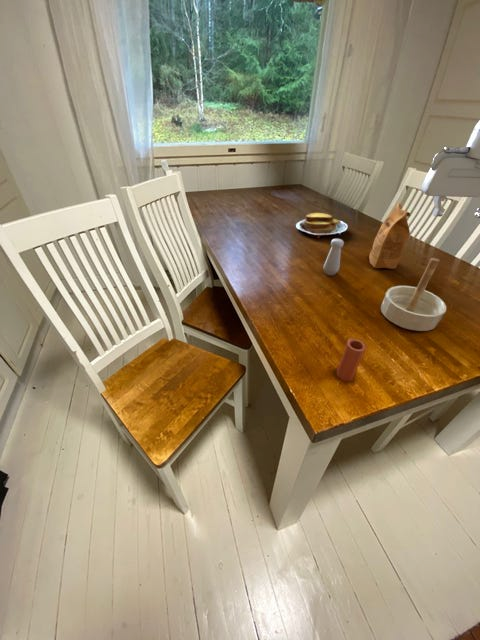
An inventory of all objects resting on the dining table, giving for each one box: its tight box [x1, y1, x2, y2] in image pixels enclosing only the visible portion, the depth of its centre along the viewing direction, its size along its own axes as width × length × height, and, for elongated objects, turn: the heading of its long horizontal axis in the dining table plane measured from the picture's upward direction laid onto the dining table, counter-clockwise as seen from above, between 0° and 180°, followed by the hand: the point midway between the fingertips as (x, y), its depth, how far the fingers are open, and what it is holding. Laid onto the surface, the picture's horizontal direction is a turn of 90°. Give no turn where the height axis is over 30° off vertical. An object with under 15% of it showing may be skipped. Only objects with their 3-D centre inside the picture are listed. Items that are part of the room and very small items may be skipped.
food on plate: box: [295, 212, 349, 239], centre depth 136 cm, size 25×25×7 cm
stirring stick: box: [406, 257, 440, 312], centre depth 77 cm, size 2×2×18 cm
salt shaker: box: [323, 238, 345, 276], centre depth 99 cm, size 6×6×13 cm
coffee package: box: [368, 203, 411, 270], centre depth 103 cm, size 10×12×22 cm
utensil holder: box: [336, 338, 367, 382], centre depth 62 cm, size 4×4×10 cm
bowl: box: [380, 285, 447, 332], centre depth 81 cm, size 16×16×6 cm
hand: (457, 216), depth 64 cm, fingers open, 8 cm apart
